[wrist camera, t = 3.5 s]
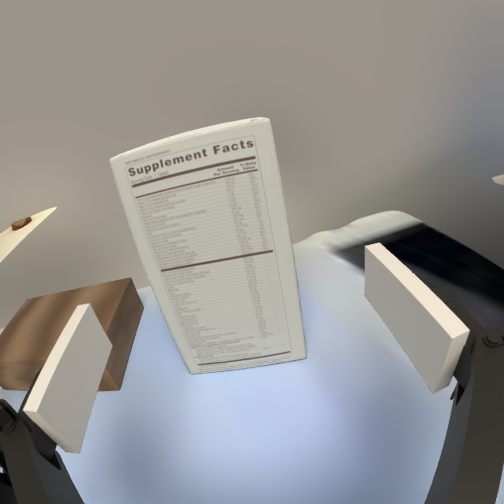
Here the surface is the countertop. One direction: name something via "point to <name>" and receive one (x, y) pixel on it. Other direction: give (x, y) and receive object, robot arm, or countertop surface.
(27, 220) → the slice of bread
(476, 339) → the robot arm
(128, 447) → the countertop surface
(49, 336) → the walnut base
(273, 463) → the countertop surface
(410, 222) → the countertop surface
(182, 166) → the supplement box
